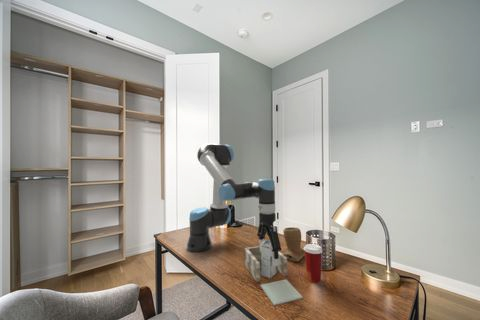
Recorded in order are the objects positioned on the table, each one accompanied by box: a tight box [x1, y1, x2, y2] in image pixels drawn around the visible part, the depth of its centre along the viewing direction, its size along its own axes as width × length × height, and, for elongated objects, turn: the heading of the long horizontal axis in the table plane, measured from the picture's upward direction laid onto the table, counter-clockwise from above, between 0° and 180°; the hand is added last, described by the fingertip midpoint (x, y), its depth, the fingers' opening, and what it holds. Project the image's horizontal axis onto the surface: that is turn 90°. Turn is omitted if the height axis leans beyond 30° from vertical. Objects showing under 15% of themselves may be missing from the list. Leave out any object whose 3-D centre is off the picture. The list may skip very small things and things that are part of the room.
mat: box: [260, 279, 303, 306], centre depth 78 cm, size 12×12×1 cm
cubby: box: [243, 245, 288, 283], centre depth 95 cm, size 16×15×8 cm
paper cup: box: [303, 243, 323, 284], centre depth 87 cm, size 8×8×14 cm
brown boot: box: [282, 226, 305, 262], centre depth 109 cm, size 15×12×15 cm
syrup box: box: [259, 239, 278, 280], centre depth 91 cm, size 6×6×14 cm
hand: (268, 258), depth 91 cm, fingers open, 13 cm apart
